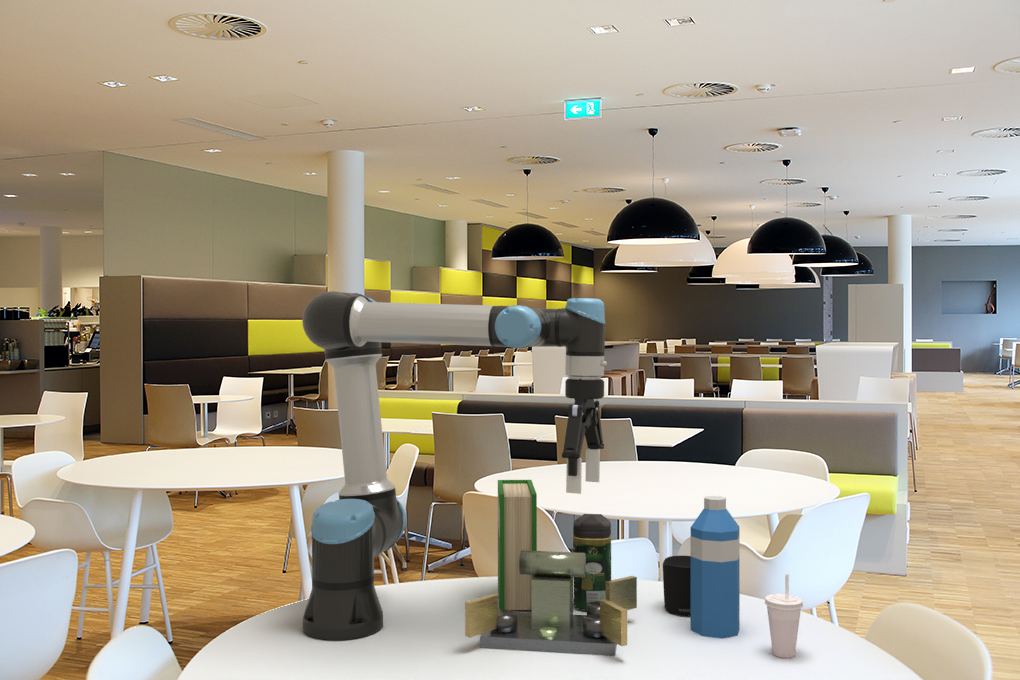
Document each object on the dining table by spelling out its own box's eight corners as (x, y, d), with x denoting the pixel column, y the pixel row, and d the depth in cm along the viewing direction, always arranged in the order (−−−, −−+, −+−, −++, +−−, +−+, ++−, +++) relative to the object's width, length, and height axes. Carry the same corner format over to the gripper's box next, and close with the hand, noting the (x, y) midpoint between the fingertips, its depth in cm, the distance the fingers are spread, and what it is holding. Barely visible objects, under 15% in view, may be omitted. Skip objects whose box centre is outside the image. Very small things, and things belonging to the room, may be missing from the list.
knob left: (503, 621, 164) (503, 586, 164) (523, 627, 160) (523, 592, 160) (457, 636, 156) (457, 599, 156) (477, 643, 152) (477, 605, 152)
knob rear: (598, 624, 162) (598, 589, 162) (581, 617, 166) (580, 583, 166) (643, 612, 169) (643, 579, 168) (625, 606, 173) (625, 573, 173)
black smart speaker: (653, 610, 178) (653, 561, 178) (681, 600, 184) (681, 553, 184) (691, 621, 171) (691, 570, 171) (719, 611, 177) (719, 561, 177)
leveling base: (480, 647, 156) (479, 561, 156) (495, 620, 171) (495, 541, 171) (615, 655, 152) (615, 567, 152) (618, 627, 167) (618, 546, 167)
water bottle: (749, 629, 166) (749, 497, 166) (724, 642, 159) (724, 504, 159) (706, 618, 172) (706, 491, 172) (680, 630, 165) (680, 498, 165)
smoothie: (797, 663, 149) (797, 581, 149) (760, 656, 152) (760, 575, 152) (806, 651, 154) (807, 572, 154) (770, 645, 157) (770, 567, 157)
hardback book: (536, 613, 175) (536, 494, 175) (499, 614, 175) (499, 494, 175) (531, 588, 193) (531, 479, 193) (497, 588, 193) (497, 479, 193)
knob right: (577, 630, 159) (577, 594, 159) (601, 626, 161) (601, 591, 161) (611, 651, 148) (611, 612, 148) (636, 646, 150) (636, 608, 150)
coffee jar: (574, 598, 186) (573, 510, 186) (611, 599, 185) (611, 511, 185) (571, 612, 176) (571, 520, 176) (611, 613, 175) (611, 521, 175)
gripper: (586, 381, 157) (585, 499, 157) (618, 375, 180) (617, 478, 181) (546, 380, 160) (545, 496, 160) (583, 374, 183) (582, 476, 183)
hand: (583, 487), depth 170 cm, fingers open, 13 cm apart
